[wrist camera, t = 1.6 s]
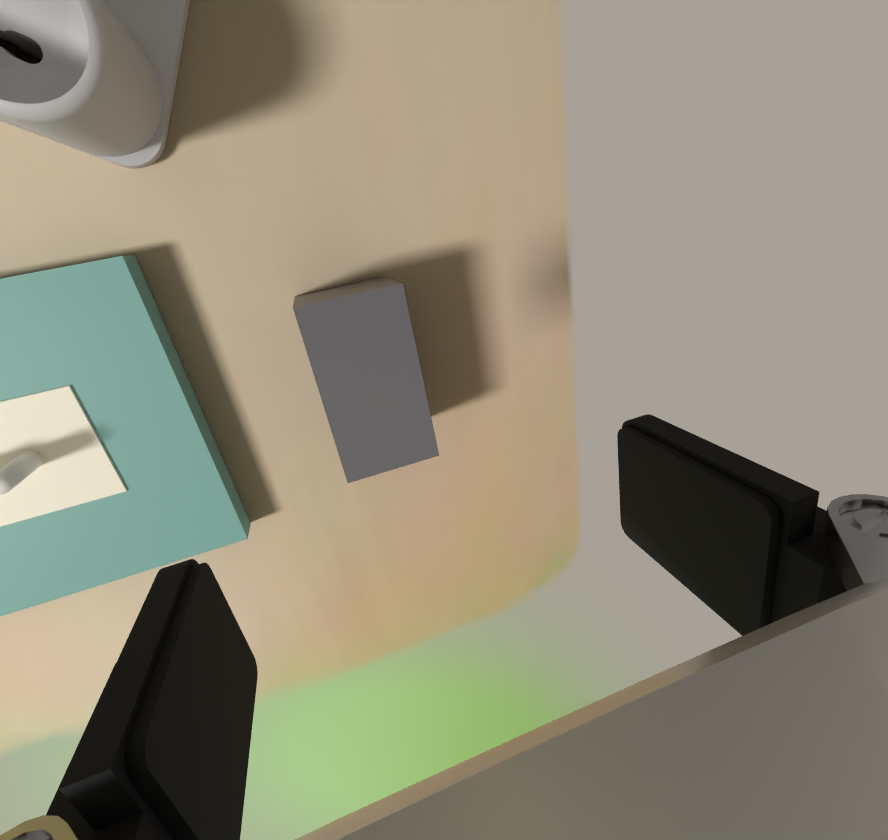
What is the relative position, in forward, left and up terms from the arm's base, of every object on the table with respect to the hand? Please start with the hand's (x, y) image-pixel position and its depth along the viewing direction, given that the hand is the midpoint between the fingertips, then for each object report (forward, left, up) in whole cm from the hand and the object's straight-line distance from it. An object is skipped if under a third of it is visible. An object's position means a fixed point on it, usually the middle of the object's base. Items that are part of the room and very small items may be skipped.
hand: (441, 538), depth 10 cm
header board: (0, -16, -15) cm, 22 cm away
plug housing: (0, 0, -15) cm, 15 cm away
